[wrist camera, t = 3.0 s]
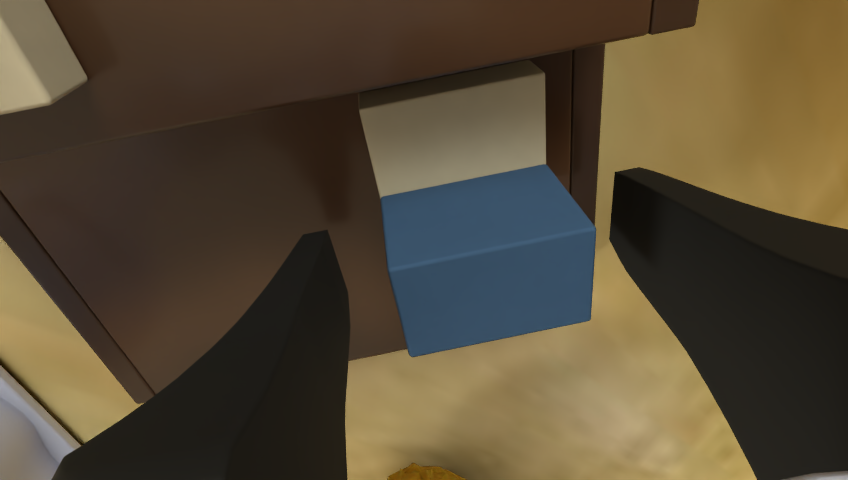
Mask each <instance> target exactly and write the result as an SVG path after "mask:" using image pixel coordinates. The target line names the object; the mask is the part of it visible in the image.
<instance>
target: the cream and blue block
mask: <svg viewBox="0 0 848 480" xmlns="http://www.w3.org/2000/svg"><path fill="white" fill-rule="evenodd" d="M87 80H88V79H87V75H86V74H85V72H84V70H83V68H82V66H81V65H80V63H79V61H78V59H77V57H76V56H75V54H74V52H73V50H72V48H71V47H70V45H69V43H68V41H67V39H66V38H65V36H64V34H63V32H62V30H61V29H60V27H59V25H58V23H57V22H56V20H55V18H54V16H53V14H52V13H51V11H50V9H49V7H48V5H47V4H46V2H45V0H0V115H3V114H8V113H13V112H18V111H23V110H28V109H34V108H39V107H44V106H49V105H51V104H53V103H54V102H56V101H58V100H59V99H61V98H62V97H64V96H65V95H67V94H69V93H70V92H72V91H73V90H75V89H77V88H78V87H80V86H81V85H83V84H84V83H86V82H87Z"/></svg>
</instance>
